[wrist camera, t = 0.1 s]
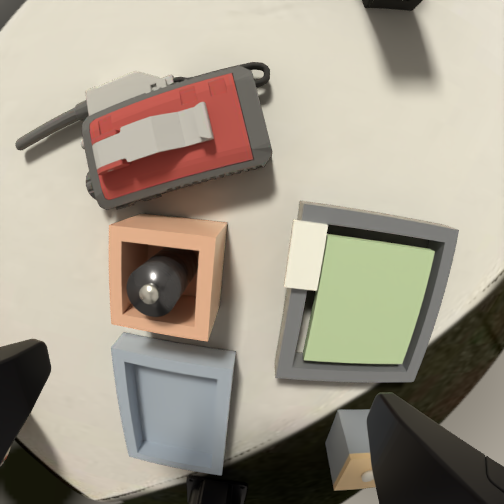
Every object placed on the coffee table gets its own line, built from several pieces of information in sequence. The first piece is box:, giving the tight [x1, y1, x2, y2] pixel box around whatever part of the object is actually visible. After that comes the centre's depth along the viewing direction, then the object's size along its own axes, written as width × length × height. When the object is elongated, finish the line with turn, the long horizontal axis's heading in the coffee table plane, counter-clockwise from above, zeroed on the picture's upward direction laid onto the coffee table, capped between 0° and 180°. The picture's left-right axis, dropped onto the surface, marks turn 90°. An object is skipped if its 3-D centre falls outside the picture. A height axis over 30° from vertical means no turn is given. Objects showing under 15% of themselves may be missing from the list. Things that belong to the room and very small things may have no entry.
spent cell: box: [126, 247, 198, 317], centre depth 18 cm, size 3×3×6 cm
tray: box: [111, 332, 236, 475], centre depth 24 cm, size 13×9×2 cm
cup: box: [109, 214, 227, 341], centre depth 19 cm, size 6×6×5 cm
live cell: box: [325, 410, 376, 491], centre depth 22 cm, size 4×4×6 cm
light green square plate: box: [303, 234, 435, 364], centre depth 20 cm, size 9×8×1 cm
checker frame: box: [275, 201, 459, 382], centre depth 20 cm, size 12×12×3 cm
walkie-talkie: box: [16, 62, 272, 210], centre depth 18 cm, size 9×4×20 cm
